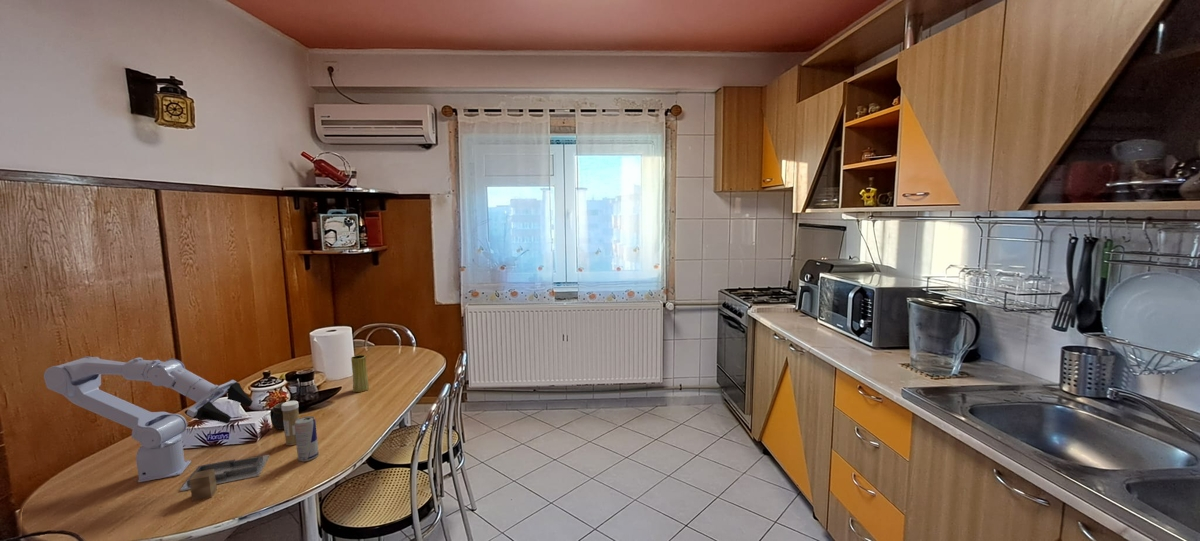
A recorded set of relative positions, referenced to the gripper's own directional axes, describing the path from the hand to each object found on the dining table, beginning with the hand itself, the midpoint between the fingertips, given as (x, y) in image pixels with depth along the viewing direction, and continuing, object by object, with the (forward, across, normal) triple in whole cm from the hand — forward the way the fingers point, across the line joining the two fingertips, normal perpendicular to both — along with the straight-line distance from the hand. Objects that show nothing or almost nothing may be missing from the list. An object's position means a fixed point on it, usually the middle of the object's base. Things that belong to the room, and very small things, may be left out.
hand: (240, 411), depth 135 cm
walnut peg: (+8, -16, +12) cm, 22 cm away
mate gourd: (+4, +22, +25) cm, 33 cm away
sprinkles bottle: (+13, +12, +16) cm, 24 cm away
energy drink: (+22, +4, +8) cm, 23 cm away
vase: (+14, +56, +28) cm, 64 cm away
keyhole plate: (+7, -6, +16) cm, 18 cm away
